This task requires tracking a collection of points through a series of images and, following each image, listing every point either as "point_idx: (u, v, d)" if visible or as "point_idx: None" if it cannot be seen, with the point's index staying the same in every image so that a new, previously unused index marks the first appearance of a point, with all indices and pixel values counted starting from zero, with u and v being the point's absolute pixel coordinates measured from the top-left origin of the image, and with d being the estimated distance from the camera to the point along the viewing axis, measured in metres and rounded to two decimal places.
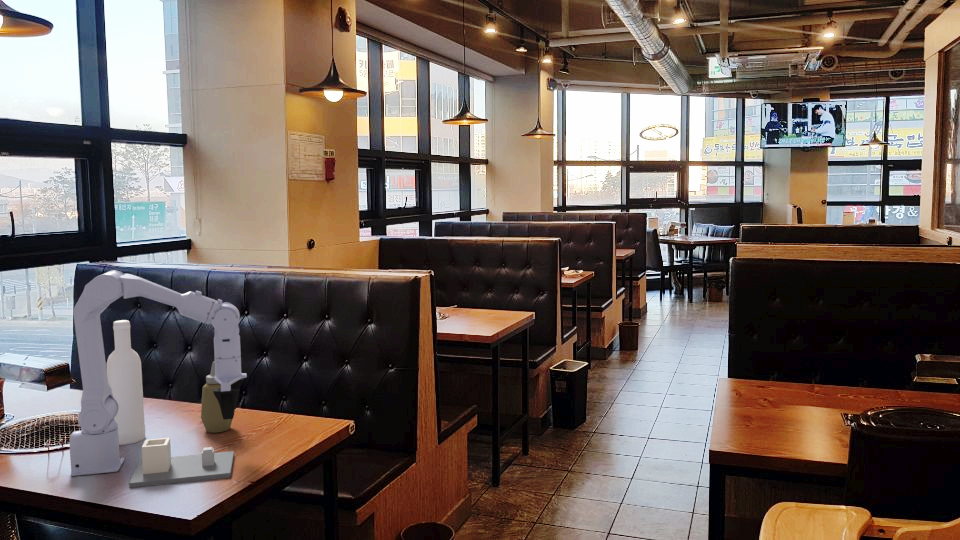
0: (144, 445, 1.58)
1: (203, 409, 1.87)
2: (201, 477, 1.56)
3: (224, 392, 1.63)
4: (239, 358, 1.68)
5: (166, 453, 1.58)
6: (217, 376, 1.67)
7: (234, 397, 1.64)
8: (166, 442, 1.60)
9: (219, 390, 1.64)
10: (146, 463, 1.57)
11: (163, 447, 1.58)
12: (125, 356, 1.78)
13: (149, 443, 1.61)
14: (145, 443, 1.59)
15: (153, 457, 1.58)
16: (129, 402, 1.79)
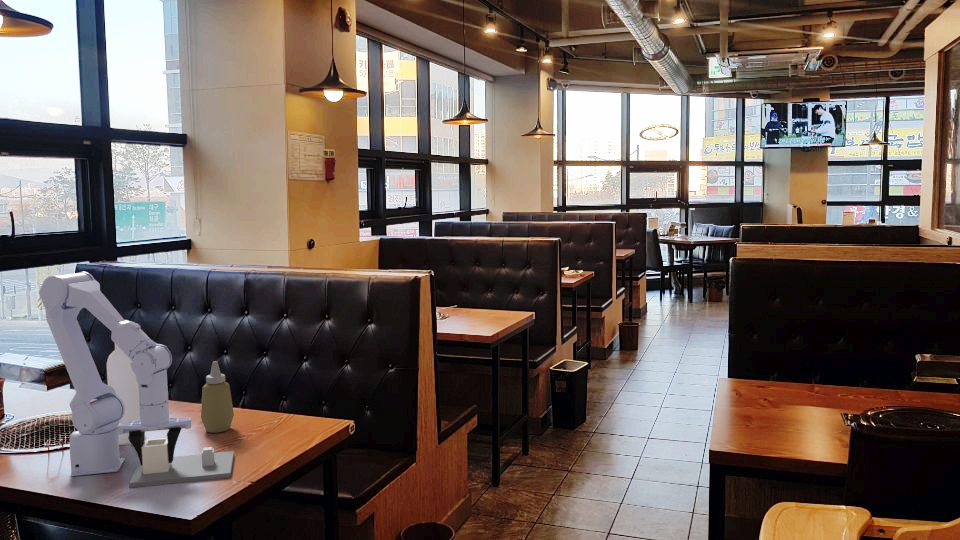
0: (144, 445, 1.58)
1: (203, 409, 1.87)
2: (201, 477, 1.56)
3: None
4: (147, 407, 1.56)
5: (166, 453, 1.58)
6: None
7: None
8: (166, 442, 1.60)
9: None
10: (146, 463, 1.57)
11: (163, 447, 1.58)
12: (125, 356, 1.78)
13: (149, 443, 1.61)
14: (145, 443, 1.59)
15: (153, 457, 1.58)
16: (129, 402, 1.79)
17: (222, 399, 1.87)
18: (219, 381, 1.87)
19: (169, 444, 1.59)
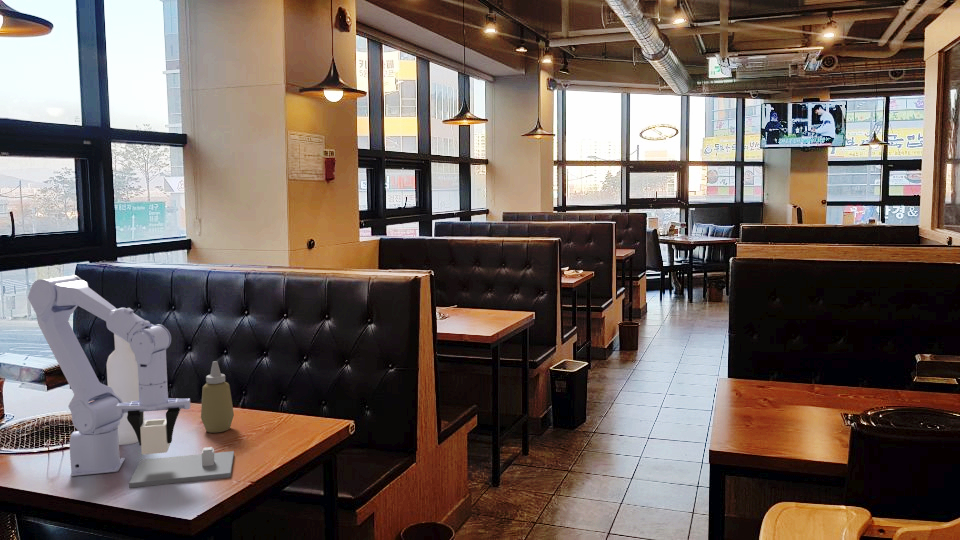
0: (143, 425, 1.57)
1: (203, 409, 1.87)
2: (201, 477, 1.56)
3: None
4: (146, 387, 1.56)
5: (165, 433, 1.58)
6: None
7: None
8: (165, 423, 1.59)
9: None
10: (144, 444, 1.57)
11: (162, 427, 1.57)
12: (125, 356, 1.78)
13: (148, 424, 1.61)
14: (144, 423, 1.59)
15: (152, 437, 1.57)
16: None
17: (222, 399, 1.87)
18: (219, 381, 1.87)
19: (168, 424, 1.58)
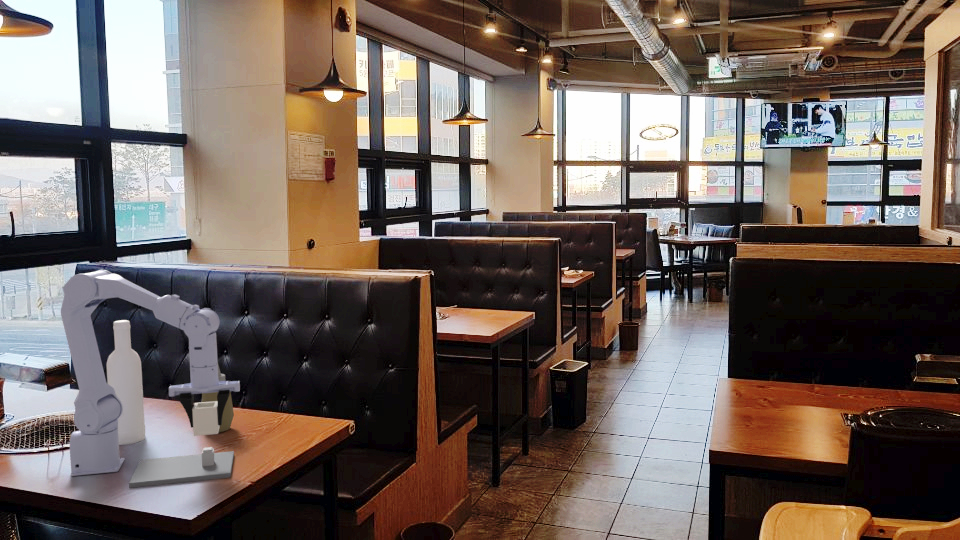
0: (194, 407, 1.60)
1: None
2: (201, 477, 1.56)
3: None
4: (198, 369, 1.58)
5: (216, 415, 1.60)
6: None
7: None
8: (216, 405, 1.62)
9: None
10: (196, 425, 1.59)
11: (213, 409, 1.60)
12: (125, 356, 1.78)
13: (198, 406, 1.63)
14: (195, 406, 1.61)
15: (203, 419, 1.60)
16: (129, 402, 1.79)
17: None
18: None
19: (219, 406, 1.61)
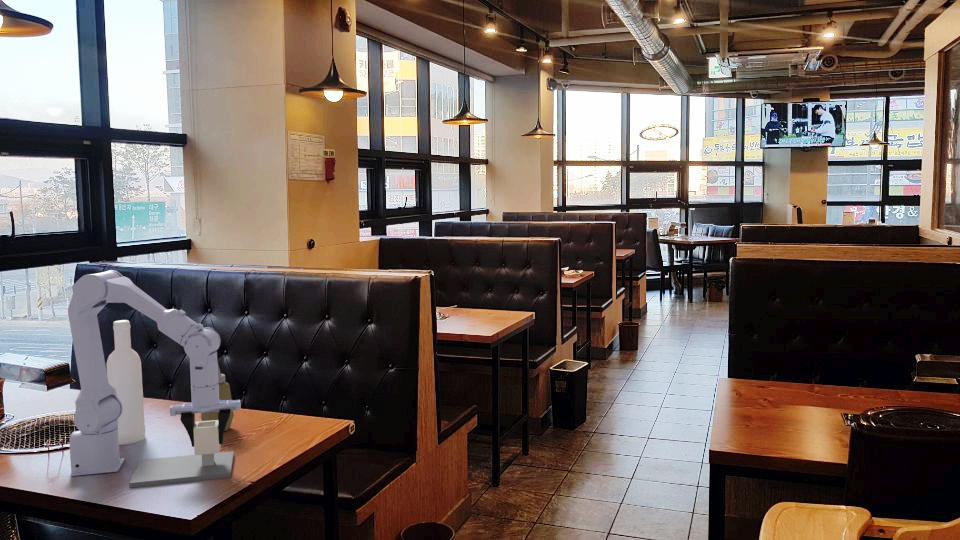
0: (195, 427, 1.60)
1: None
2: (201, 477, 1.56)
3: None
4: (199, 389, 1.59)
5: (217, 434, 1.61)
6: None
7: None
8: (216, 424, 1.62)
9: None
10: (197, 445, 1.60)
11: (214, 429, 1.60)
12: (125, 356, 1.78)
13: (199, 425, 1.63)
14: (196, 425, 1.61)
15: (204, 438, 1.60)
16: (129, 402, 1.79)
17: (222, 399, 1.87)
18: (219, 381, 1.87)
19: (220, 426, 1.61)
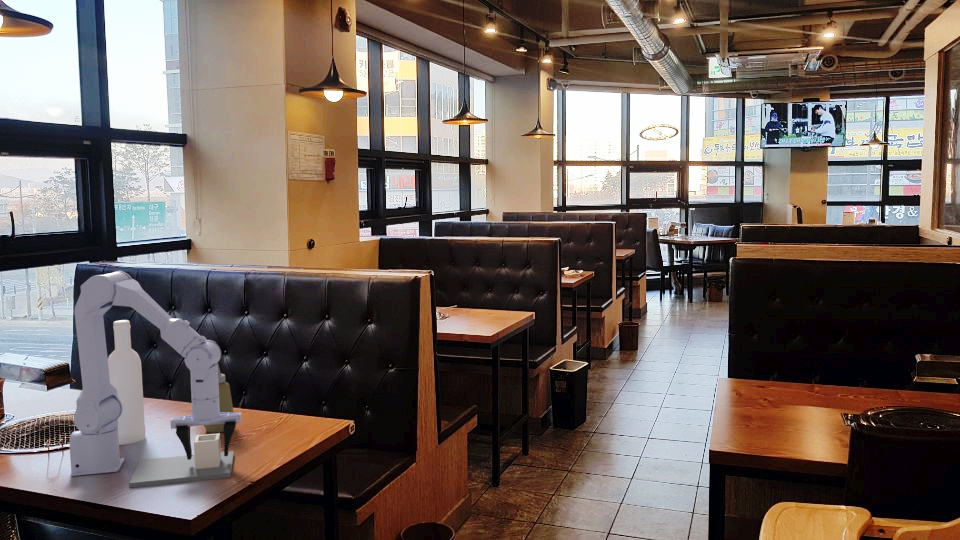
0: (196, 440, 1.60)
1: None
2: (201, 477, 1.56)
3: None
4: (199, 402, 1.59)
5: (217, 448, 1.61)
6: None
7: None
8: (217, 438, 1.62)
9: None
10: (198, 459, 1.60)
11: (215, 442, 1.61)
12: (125, 356, 1.78)
13: (200, 439, 1.64)
14: (196, 439, 1.62)
15: (205, 452, 1.60)
16: (129, 402, 1.79)
17: (222, 399, 1.87)
18: (219, 381, 1.87)
19: (225, 438, 1.62)
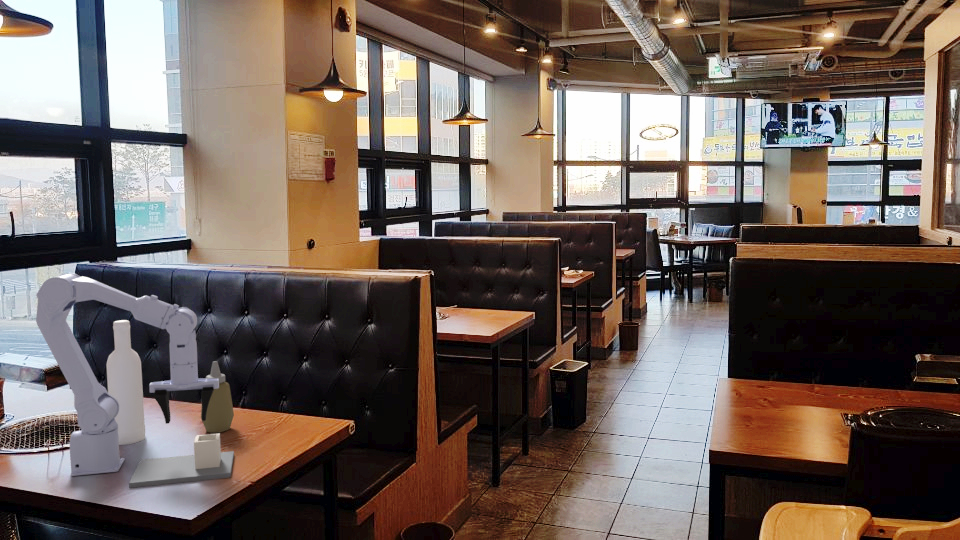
0: (196, 440, 1.60)
1: None
2: (201, 477, 1.56)
3: None
4: (177, 367, 1.63)
5: (217, 448, 1.61)
6: None
7: None
8: (217, 438, 1.62)
9: None
10: (198, 459, 1.60)
11: (215, 442, 1.61)
12: (125, 356, 1.78)
13: (200, 439, 1.64)
14: (196, 439, 1.62)
15: (205, 452, 1.60)
16: (129, 402, 1.79)
17: (222, 399, 1.87)
18: (219, 381, 1.87)
19: (203, 402, 1.66)
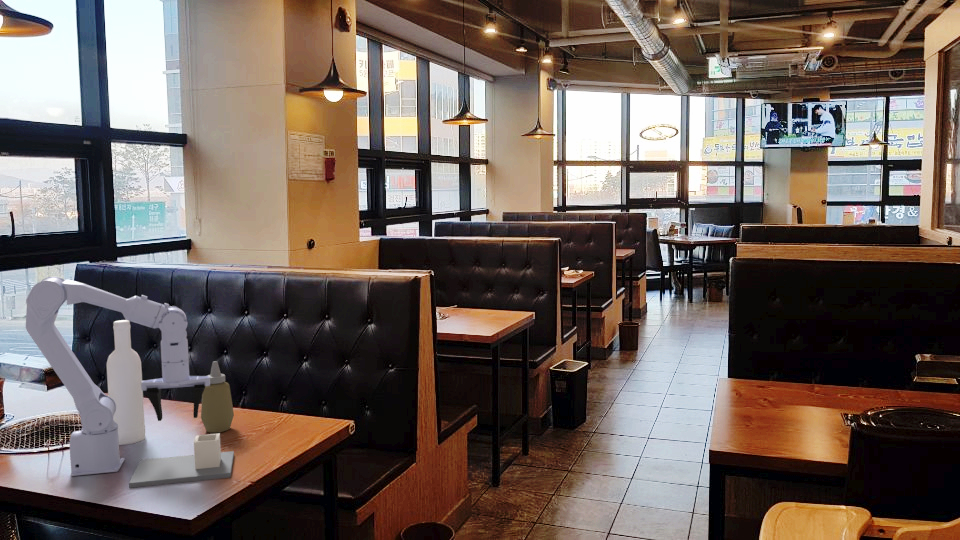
0: (196, 440, 1.60)
1: (203, 409, 1.87)
2: (201, 477, 1.56)
3: None
4: (169, 365, 1.65)
5: (217, 448, 1.61)
6: None
7: None
8: (217, 438, 1.62)
9: None
10: (198, 459, 1.60)
11: (215, 442, 1.61)
12: (125, 356, 1.78)
13: (200, 439, 1.64)
14: (196, 439, 1.62)
15: (205, 452, 1.60)
16: (129, 402, 1.79)
17: (222, 399, 1.87)
18: (219, 381, 1.87)
19: (194, 400, 1.68)
